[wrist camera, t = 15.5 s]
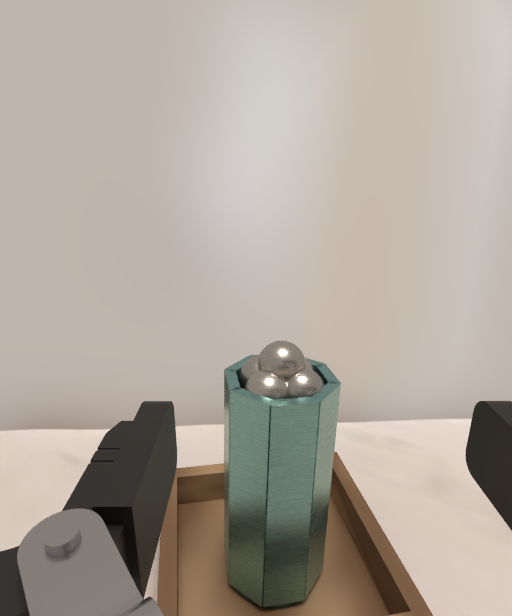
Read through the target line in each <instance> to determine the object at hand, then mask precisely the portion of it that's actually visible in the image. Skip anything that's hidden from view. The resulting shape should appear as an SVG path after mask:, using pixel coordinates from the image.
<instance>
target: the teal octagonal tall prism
mask: <svg viewBox="0 0 512 616" xmlns="http://www.w3.org/2000/svg"><path fill="white" fill-rule="evenodd" d="M224 376H225V377H224V390H225V391H224V392H225V393H224V551H225V560H226V568H227V576H228V583H229V584H230V585H232V586H233V587H234V588H235V590H236V591H237V592H238V593H239V594H240V595H241V596H242V597H243V598H244V599H245V600H247V601H248V602H250V603H252V604H254V605H256V606H259V607H262V608H267V609H283V608H287V607H291V606H293V605H295V604H297V603H299V602H301V601H304V600H305V599H306V597H307V595H308V594H309V593H310V592H311V590H312V588H313V586H314V584H315V582H316V580H317V578H318V577H319V575H320V573H321V571H322V570H323V561H324V551H325V541H326V530H327V520H328V510H329V499H330V489H331V479H332V468H333V458H334V447H335V437H336V427H337V416H338V405H339V396H340V385H341V383H340V382H339V381H338V379H337V378H336V377H335V375H334V374H333V373H332V372H331V370H330V369H329V368H328V367H327V365H326V364H324V363H321V362H317V361H314V360H310V359H307V358H305V357H304V355H303V354H302V352H301V350H300V349H299V348H298V347H297V346H295V345H294V344H292V343H290V342H287V341H276V342H273V343H271V344H269V345H267V346H266V347H265V348H264V349H263V350H262V352H261V353H260V355H251V356H248V357H246V358H244V359H242V360H241V361H239V362H237V363H235V364H234V365H231V366H230V367H228V368H226V369H225V370H224Z"/></svg>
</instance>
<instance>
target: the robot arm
mask: <svg viewBox="0 0 512 616" xmlns="http://www.w3.org/2000/svg"><path fill="white" fill-rule="evenodd" d="M466 462H467V466H468V469H469V472H470V474H471V475H472V477H473V478H474V480H475V481H476V482H477V484H478V485H479V486H480V488H481V489H482V491H483V492H484V493H485V495H486V496H487V497H488V499H489V500H490V501H491V503H492V504H493V506H494V507H495V508H496V510H497V511H498V512H499V514H500V515H501V516H502V518H503V519H504V521H505V522H506V523H507V525H508V526H509V527H510V529H511V530H512V402H511V401H480V402H478V403H477V404H476V406H475V408H474V412H473V417H472V422H471V427H470V432H469V437H468V442H467V447H466ZM176 465H177V445H176V431H175V417H174V406H173V403H172V402H171V401H153V402H152V401H144V402H143V403H142V404H141V406H140V408H139V410H138V412H137V414H136V416H135V419H134V421H121V422H119V423H118V424H117V425H116V426H115V427H113V428H112V429H111V430H110V431H108V432H107V433H106V434H105V436H104V438H103V440H102V441H101V443H100V445H99V447H98V451H96V452H95V454H94V456H93V457H92V459H91V463H90V464H88V466H87V468H86V470H85V471H84V473H83V475H82V477H81V478H80V480H79V482H78V484H77V486H76V487H75V489H74V491H73V493H72V494H71V496H70V498H69V500H68V501H67V503H66V505H65V507H64V508H63V510H62V511H61V512H59V513H56V514H53V515H51V516H50V517H48V518H46V519H44V520H43V521H41V522H40V523H38V524H37V525H36V526H35V527H33V528H32V529H31V530H30V531H29V532H28V534H27V535H26V536H25V537H24V539H23V541H22V542H21V544H20V546H17V547H15V548H12V549H9V550H5V551H1V552H0V616H163V614H162V612H161V610H160V608H159V607H158V605H157V604H156V602H155V601H154V600H153V599H152V598H151V597H148V598H146V599H145V600H144V595H145V591H146V587H147V583H148V579H149V575H150V572H151V568H152V564H153V560H154V556H155V552H156V548H157V544H158V540H159V536H160V533H161V529H162V525H163V521H164V517H165V513H166V509H167V505H168V501H169V497H170V494H171V490H172V486H173V482H174V478H175V473H176Z"/></svg>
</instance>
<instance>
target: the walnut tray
mask: <svg viewBox="0 0 512 616" xmlns="http://www.w3.org/2000/svg"><path fill="white" fill-rule="evenodd" d="M157 605H158V607H159V608H160V610H161V612H162V614H163V616H433V615H432V613H431V611H430V610H429V608H428V606H427V605H426V603H425V601H424V599H423V598H422V596H421V594H420V593H419V591H418V589H417V588H416V586H415V584H414V582H413V581H412V579H411V577H410V576H409V574H408V572H407V571H406V569H405V567H404V566H403V564H402V562H401V560H400V559H399V557H398V555H397V554H396V552H395V550H394V549H393V547H392V545H391V544H390V542H389V540H388V538H387V537H386V535H385V533H384V532H383V530H382V528H381V527H380V525H379V523H378V522H377V520H376V518H375V516H374V515H373V513H372V511H371V510H370V508H369V506H368V505H367V503H366V501H365V499H364V498H363V496H362V494H361V493H360V491H359V489H358V488H357V486H356V484H355V483H354V481H353V479H352V477H351V476H350V474H349V472H348V471H347V469H346V467H345V466H344V464H343V462H342V461H341V459H340V457H339V455H338V454H337V452H334V458H333V468H332V479H331V489H330V499H329V510H328V520H327V530H326V541H325V551H324V561H323V570H322V571H321V573H320V575H319V577H318V578H317V580H316V582H315V584H314V586H313V588H312V590H311V592H310V593H309V594H308V595H307V597H306V599H305V600H304V601H301V602H299V603H297V604H295V605H293V606H291V607H287V608H283V609H267V608H262V607H259V606H256V605H254V604H252V603H250V602H248V601H247V600H245V599H244V598H243V597H242V596H241V595H240V594H239V593H238V592H237V591H236V590H235V588H234V587H233V586H232V585H230V584H229V583H228V576H227V568H226V560H225V551H224V464H215V465H205V466H196V467H186V468H176V473H175V478H174V482H173V486H172V490H171V494H170V497H169V501H168V505H167V509H166V513H165V517H164V521H163V525H162V529H161V538H160V559H159V581H158V602H157Z"/></svg>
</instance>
